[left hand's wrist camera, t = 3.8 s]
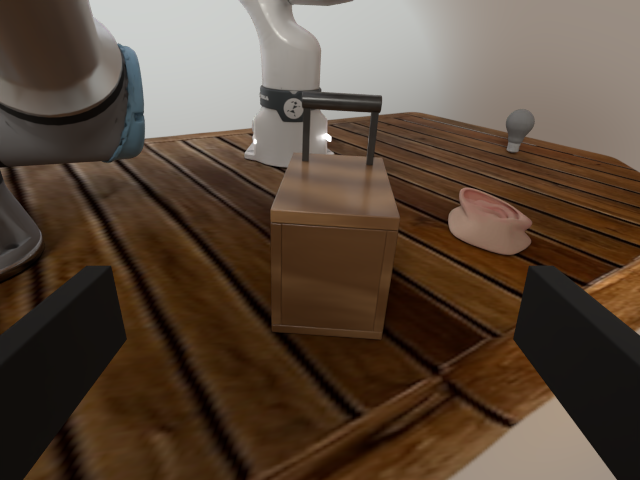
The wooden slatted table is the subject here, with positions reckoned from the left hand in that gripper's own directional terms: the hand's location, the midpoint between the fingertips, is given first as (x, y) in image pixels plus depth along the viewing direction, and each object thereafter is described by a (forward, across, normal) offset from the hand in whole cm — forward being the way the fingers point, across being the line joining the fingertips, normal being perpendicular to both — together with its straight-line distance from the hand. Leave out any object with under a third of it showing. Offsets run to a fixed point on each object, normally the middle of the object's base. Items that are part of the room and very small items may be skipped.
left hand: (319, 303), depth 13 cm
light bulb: (+87, +46, -10) cm, 99 cm away
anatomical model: (+43, +24, -14) cm, 51 cm away
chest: (+27, +1, -14) cm, 31 cm away
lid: (+27, +2, -3) cm, 27 cm away
